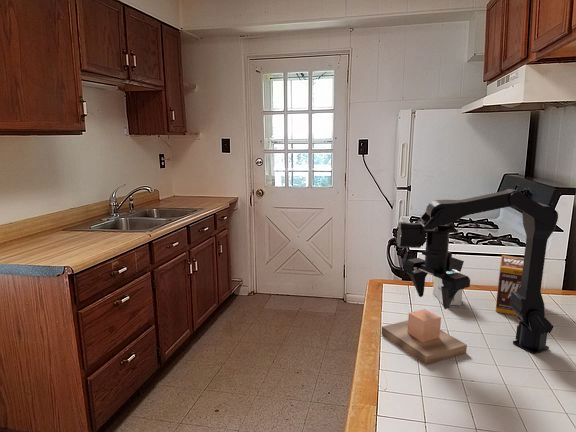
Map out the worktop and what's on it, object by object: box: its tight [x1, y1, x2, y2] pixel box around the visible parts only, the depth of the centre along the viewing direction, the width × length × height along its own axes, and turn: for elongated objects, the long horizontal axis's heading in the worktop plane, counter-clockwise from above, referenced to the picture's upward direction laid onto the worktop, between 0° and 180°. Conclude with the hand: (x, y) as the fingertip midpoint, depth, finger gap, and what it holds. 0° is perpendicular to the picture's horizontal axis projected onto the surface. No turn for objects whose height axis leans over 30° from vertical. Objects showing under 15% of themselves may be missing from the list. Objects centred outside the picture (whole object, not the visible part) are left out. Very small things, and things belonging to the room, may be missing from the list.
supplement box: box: [495, 255, 524, 316], centre depth 139 cm, size 10×15×16 cm
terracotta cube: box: [407, 308, 442, 342], centre depth 114 cm, size 6×6×6 cm
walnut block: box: [381, 319, 468, 366], centre depth 115 cm, size 18×14×3 cm
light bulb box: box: [432, 269, 464, 306], centre depth 145 cm, size 11×7×11 cm, turn 179°
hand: (433, 302), depth 114 cm, fingers open, 9 cm apart
